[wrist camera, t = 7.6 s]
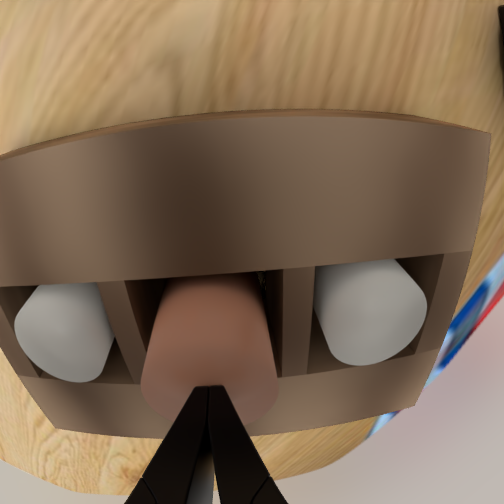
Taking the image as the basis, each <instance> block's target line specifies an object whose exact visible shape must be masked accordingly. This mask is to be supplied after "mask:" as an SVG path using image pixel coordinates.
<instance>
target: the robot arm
mask: <svg viewBox="0 0 504 504" xmlns="http://www.w3.org/2000/svg"><path fill="white" fill-rule="evenodd" d="M500 16H501V24H502V33H503V43H504V5H501V6H500ZM214 473H215V475H216V481H217V487H218V492H219V497H220V503H221V504H288V503H287V501H286V500H285V498H284V497H283V495H282V494H281V492H280V491H279V489H278V487H277V486H276V484H275V482H274V480H273V479H272V477H270V474H269V472H268V470H267V468H266V466H265V465H264V463H263V461H262V459H261V457H260V455H259V454H258V452H257V450H256V448H255V446H254V444H253V442H252V440H251V438H250V437H249V435H248V433H247V431H246V429H245V427H244V425H243V423H242V421H241V419H240V417H239V415H238V413H237V411H236V409H235V407H234V405H233V403H232V401H231V399H230V397H229V395H228V393H227V391H226V389H225V387H224V386H223V385H212V386H210V387H209V386H195V387H194V388H193V390H192V392H191V393H190V395H189V397H188V399H187V400H186V402H185V404H184V405H183V407H182V409H181V411H180V412H179V414H178V416H177V417H176V419H175V421H174V422H173V424H172V426H171V428H170V429H169V431H168V433H167V434H166V436H165V438H164V440H163V441H162V443H161V445H160V446H159V448H158V450H157V451H156V453H155V455H154V456H153V458H152V460H151V461H150V463H149V465H148V466H147V468H146V470H145V472H144V473H143V475H142V477H143V478H140V480H139V481H138V483H137V485H136V486H135V488H134V489H133V491H132V493H131V494H130V496H129V497H128V499H127V500H126V502H125V503H124V504H212V500H213V486H214Z"/></svg>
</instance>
